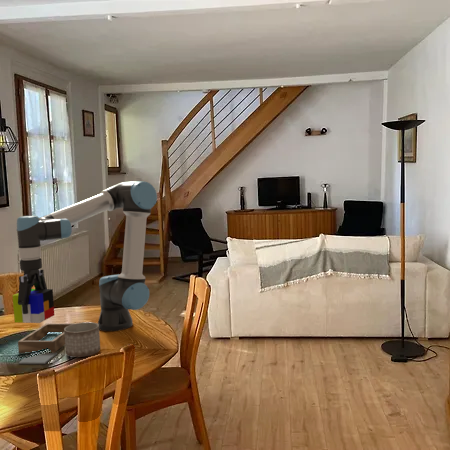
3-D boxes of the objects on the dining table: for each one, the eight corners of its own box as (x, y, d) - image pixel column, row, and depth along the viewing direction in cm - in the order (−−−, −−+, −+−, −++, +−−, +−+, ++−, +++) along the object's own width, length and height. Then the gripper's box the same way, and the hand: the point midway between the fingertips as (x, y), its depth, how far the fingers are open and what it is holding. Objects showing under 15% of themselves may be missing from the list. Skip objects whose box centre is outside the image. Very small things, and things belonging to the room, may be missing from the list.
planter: (68, 362, 182) (66, 334, 181) (64, 351, 194) (62, 325, 193) (103, 355, 187) (101, 328, 186) (97, 345, 199) (95, 320, 198)
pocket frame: (46, 333, 217) (46, 323, 217) (78, 333, 215) (78, 323, 215) (18, 352, 194) (17, 341, 194) (54, 353, 192) (53, 341, 192)
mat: (57, 354, 191) (57, 352, 191) (44, 364, 181) (44, 362, 181) (32, 354, 192) (32, 352, 192) (18, 364, 182) (18, 362, 182)
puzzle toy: (39, 323, 179) (37, 295, 178) (14, 322, 181) (12, 295, 180) (54, 315, 189) (52, 289, 188) (30, 314, 191) (28, 289, 190)
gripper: (36, 253, 194) (40, 309, 197) (3, 264, 172) (8, 327, 174) (54, 253, 194) (58, 309, 196) (24, 263, 171) (29, 327, 173)
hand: (35, 317), depth 185 cm, fingers closed on puzzle toy, 10 cm apart
